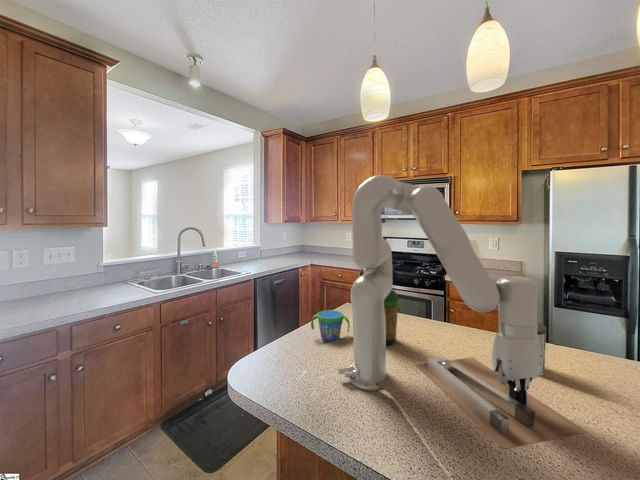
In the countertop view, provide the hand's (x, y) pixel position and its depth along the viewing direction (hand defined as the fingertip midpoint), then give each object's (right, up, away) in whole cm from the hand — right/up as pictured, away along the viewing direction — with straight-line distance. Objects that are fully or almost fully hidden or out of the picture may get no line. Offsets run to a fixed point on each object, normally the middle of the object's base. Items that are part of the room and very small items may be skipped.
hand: (517, 403), depth 68 cm
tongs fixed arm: (-9, -1, +6) cm, 11 cm away
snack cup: (-43, -1, +46) cm, 64 cm away
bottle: (-23, -1, +40) cm, 46 cm away
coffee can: (+17, -1, +22) cm, 28 cm away
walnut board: (-4, -3, +7) cm, 9 cm away
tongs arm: (-6, -1, +6) cm, 8 cm away
